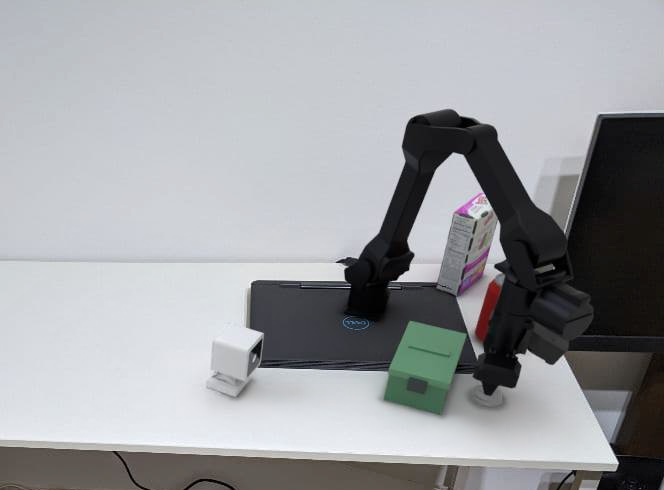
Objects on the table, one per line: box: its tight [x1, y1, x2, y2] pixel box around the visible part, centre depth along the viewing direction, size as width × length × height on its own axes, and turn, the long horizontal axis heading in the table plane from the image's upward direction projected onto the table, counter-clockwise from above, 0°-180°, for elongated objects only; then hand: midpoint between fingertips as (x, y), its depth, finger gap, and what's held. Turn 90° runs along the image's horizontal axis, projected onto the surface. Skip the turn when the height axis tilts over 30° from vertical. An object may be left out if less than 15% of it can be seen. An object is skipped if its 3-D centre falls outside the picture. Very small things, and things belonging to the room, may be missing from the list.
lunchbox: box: [383, 320, 468, 416], centre depth 140 cm, size 9×16×7 cm, turn 153°
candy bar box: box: [435, 192, 499, 297], centre depth 162 cm, size 11×5×16 cm, turn 137°
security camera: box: [205, 322, 265, 397], centre depth 138 cm, size 6×7×10 cm
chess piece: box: [470, 383, 503, 408], centre depth 136 cm, size 5×5×8 cm
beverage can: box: [474, 272, 505, 343], centre depth 148 cm, size 7×7×12 cm
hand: (489, 389), depth 137 cm, fingers closed on chess piece, 3 cm apart
